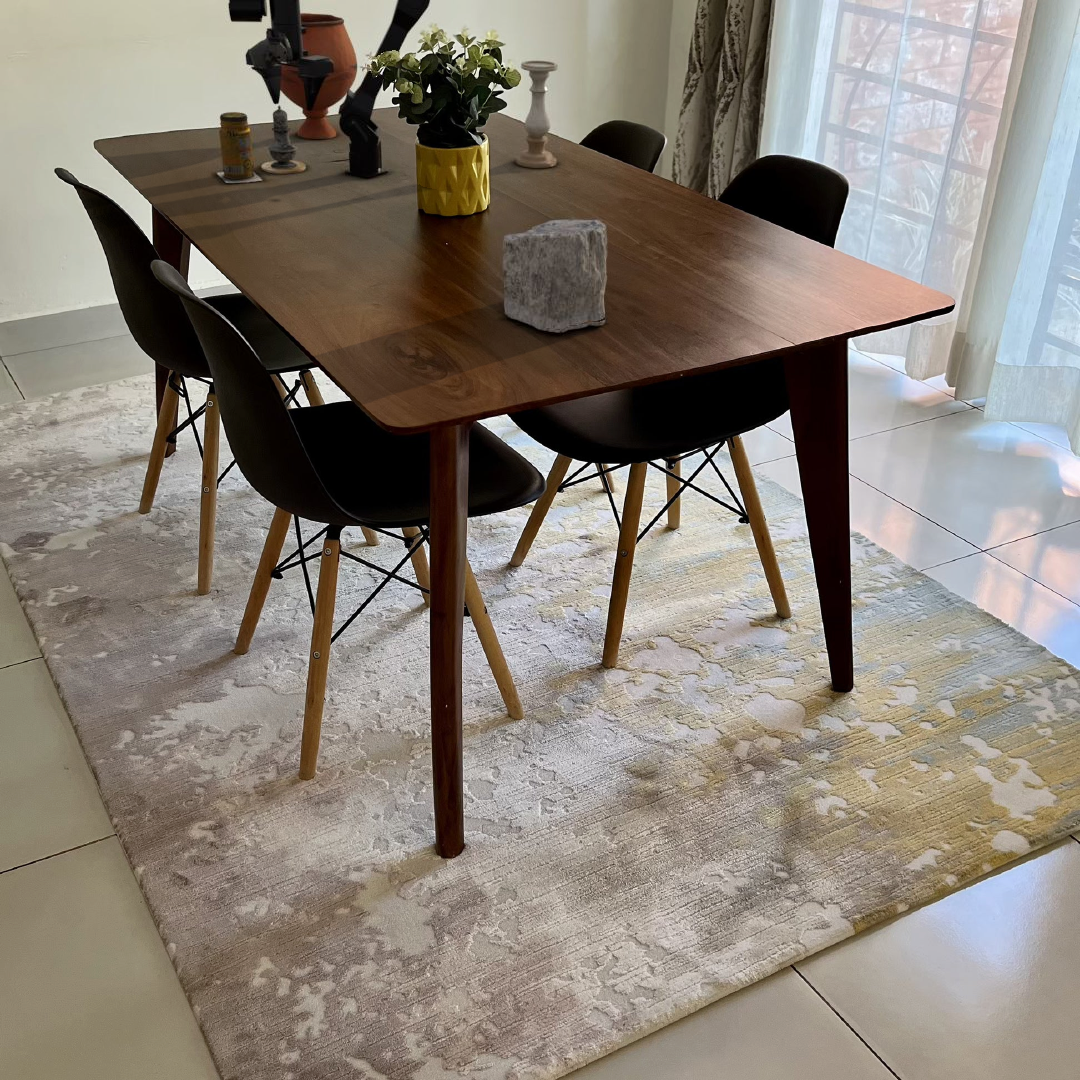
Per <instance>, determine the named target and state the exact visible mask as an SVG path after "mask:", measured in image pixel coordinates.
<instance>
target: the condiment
mask: <svg viewBox="0 0 1080 1080" xmlns="http://www.w3.org/2000/svg"><path fill="white" fill-rule="evenodd" d="M248 119H249V118H248V115H247V114H246V113H244V112H238V111H230V112H229V111H227V112H223V113H221V114H220V115H219V120H220V128H219V131H218V132H219V143H220V152H221V153H220V154H221V163H222V171H220V172H219V171H218V172H216V174H217V175H218V176H219V178H221V179H222V180H223V182H225V183H226V184H236V183H237V184H238V183H239V184H240V183H251V182H260V181H263V179H262V177H260V176H259V175H258V174H256V172H255V163H254V155H253V145H252V143H253V142H252V140H253V139H252V133H251V129H250V127H249V122H248Z"/></svg>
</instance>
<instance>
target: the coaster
mask: <svg viewBox="0 0 1080 1080" xmlns="http://www.w3.org/2000/svg"><path fill="white" fill-rule="evenodd" d="M290 161H292V162H294V163H296V164H297V166H296V167H295V168H291V169H276V168H273V167H271V164H273V163H274V162H276V160H271V161H266V162H264V163H262V164H261V165H260V168H261V170H262V171H263V172H266V173H270V174H277V175H279V174H280V175H285V174H289V175H290V174H296V173H300V172H303V171H305V170H306V168H307V166H306V164H305V163H304V162H302V161H297V160H290Z"/></svg>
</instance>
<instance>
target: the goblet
mask: <svg viewBox="0 0 1080 1080" xmlns="http://www.w3.org/2000/svg"><path fill="white" fill-rule="evenodd" d="M300 14H301V27H303V28H306V34H302V41H303V50H307V51H308V56H306V57H310V56H315V55H318V56H324V57H330V59H331V60H332V61H333V67H334V73H329V77H326V78H325V80H324V82H323V84H322V86H321V88H320V91H319V93H318V96H317V99H316V101H315V104H314V107H313V109H312V110H311V111H307V107H306V102H305V93H304V84H303V82H302V81H301V80H300V78H299V77H298V76H300V75H302V74H301V73H300V71H299V70H298V68H297V67H291V66H285V65H282V74H281V88H280V93H282V94H283V95H284V96H285V97H286V98H287V99H288V100H289V101H290V102H292V103H293V104H294V105H296V106H297V107H299V108H300V109H302V110H301V111H302V114H303V115H304V117H305V120H304V121H303V123H302V124H300V127H299V129H298V131H297V136H298V137H299V138H303V139H308V140H326V139H332V138H334V137H337V132H336V130H335V129H334V127H333V126H332V125H331V123H330V122H329V121H328V119H327V117H326V116H327V115H328V114H329V108H331V107H333V106H334V105H336V104H337V103H339V102H340V101H341V100H343V98H345V97H346V95H347V91H348V89H350V90H351V89H352V87H353V85H354V83H355V81H356V77H357V75H358V60H357V54H356V52H355V48H354V45H353V42H352V41H351V37H350V36H349V33H348V30H347V28H346V25H345V24H344V23H345V19H343V17H338V16H335V15H332V14H324V13H307V12H302V13H301V12H300ZM303 58H305V57H303ZM284 61H286V60H284ZM292 62H293V61H292Z"/></svg>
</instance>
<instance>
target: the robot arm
mask: <svg viewBox="0 0 1080 1080" xmlns="http://www.w3.org/2000/svg"><path fill="white" fill-rule="evenodd" d="M430 2H431V0H396V3H395V7H394V11H393V15H392V18H391V21H390V23H389V25H388V28H387V30H386V32H385V34H384V35H383V38H382V41H381V42H380V44H379V46H378V48H377V50H376V53H375V55H374V56H373V58H374V57H377V56H378V55H380V54H381V53H383V52H386V51H392V50H396V51H398V53H399V52H400V51H401V48H402V46H403V44H404V42H405V40H406V38H407V36H408V34H409V33H410V31H411V30H412V29H413V28H414V26H415V25H416V24H417V23H418V22H419V20H420V19H421V18H422V16H423V15H424V14H425V12H426V11H427V9H428V8H429V6H430ZM267 3H268V4H269V14H270V15H269V16H270V27H268V28H266V30H265V36H266V37H265V38H264V39H262V40H260V41H259V42H257V43H256V44H255V45H253V46H252V47H251V48H248V49H247V51H246V53H245V64H246V65H247V66H251V68H250V69H251V70H254V72H256V73H257V74H259V75H260V76H261V78H262V80H263V83H264V84H265V87H266V88H267V91H268V93H269V94H268V95H269V97H270V98H271V101H272V104H273V105H278V104H279V103H280V100H281V99H280V98H281V90H280V88H281V74H282V65H285V66H291V67H297V68H298V70H299V71H300V73H301V74H302V75H300V76H298V77H299V78H300V80H301V81H302V82H303V84H304V93H305V102H306V107H307V111H311V110H312V109H313V107H314V104H315V101H316V99H317V96H318V93H319V91H320V88H321V86H322V84H323V82H324V80H325V78H326V77H329V73H334V67H333V61H332V60H331V59H330V57H324V56H318V55H315V56H310V57H306V56H308V51H307V50H303V41H302V34H306V28H303V27H301V14H300V13H301V1H300V0H268V1H267V0H228V13H229V14H228V15H229V20H230V22H232V23H262V21H263V17H268V4H267ZM303 57H305V58H303ZM284 60H286V61H284ZM292 61H293V62H292ZM372 62H373V60H372V61H371V62H370V65H372ZM384 82H385V81H383V75H378V76H377V77H375V78H372V73H371V71H368V70H367V71H366V73H365V75H364V77H363V79H362V81H361V83H360V85H359V86H358V87H357V88H356V90H355V91H354V92H353V91H352V90H351V88H350V89H348V91H347V94H346V95H345V97H344V98H345V99H344V101H343V102H342V103H340V105H339V108H338V112H337V113H338V115H339V120H338V125H339V128H340V131H341V132H342V133H343V134H344V136H346V137H348V138H349V141H350V142H349V146H348V147H349V149H348V150H349V151H348V165H349V168H348V169H345V170H344V173H345V174H347V175H352V176H357V177H361V178H364V179H371V178H374V177H377V176H382V175H385V174H388V173H389V170H388V169H385V168H383V161H382V141H381V140H380V129H381V128H380V126H379V125H378V124H376V122H374V121H373V119H372V115H373V111H374V108H375V104H376V100H377V97H378V95H379V93H380V91H381V89H382V87H383V84H384Z"/></svg>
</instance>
